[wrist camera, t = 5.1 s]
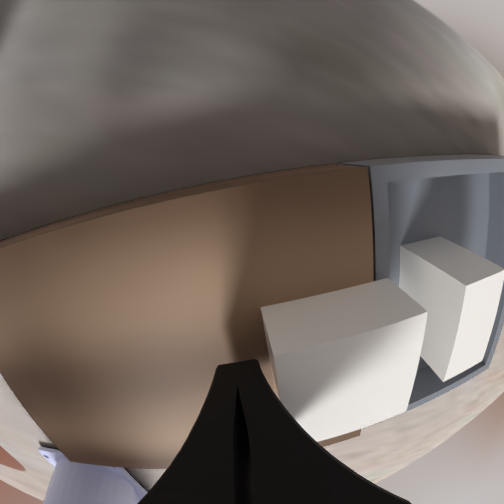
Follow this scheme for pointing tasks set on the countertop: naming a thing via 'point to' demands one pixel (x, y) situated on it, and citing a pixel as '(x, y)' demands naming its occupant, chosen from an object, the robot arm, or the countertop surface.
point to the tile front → (345, 356)
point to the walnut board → (168, 302)
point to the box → (437, 228)
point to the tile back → (451, 301)
